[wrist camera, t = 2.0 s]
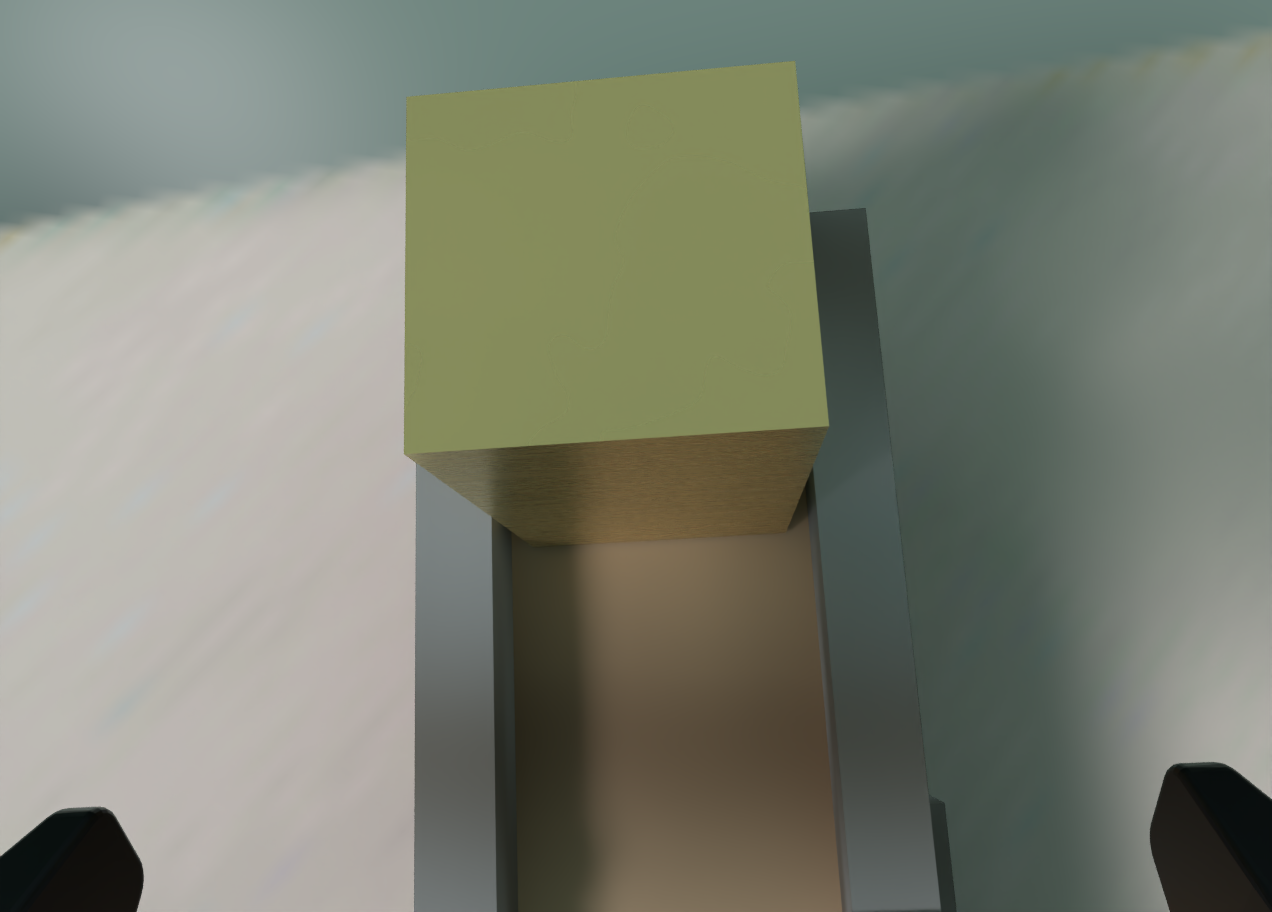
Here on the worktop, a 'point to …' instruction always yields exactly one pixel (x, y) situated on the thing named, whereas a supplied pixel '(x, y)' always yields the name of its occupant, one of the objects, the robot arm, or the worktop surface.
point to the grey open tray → (685, 690)
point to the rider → (615, 304)
